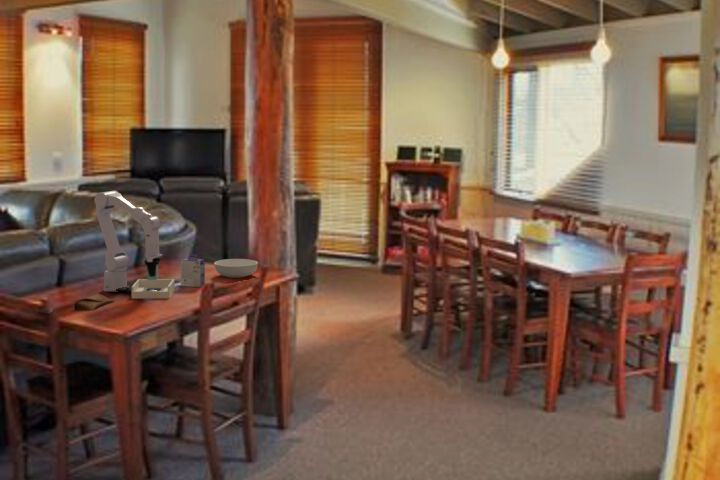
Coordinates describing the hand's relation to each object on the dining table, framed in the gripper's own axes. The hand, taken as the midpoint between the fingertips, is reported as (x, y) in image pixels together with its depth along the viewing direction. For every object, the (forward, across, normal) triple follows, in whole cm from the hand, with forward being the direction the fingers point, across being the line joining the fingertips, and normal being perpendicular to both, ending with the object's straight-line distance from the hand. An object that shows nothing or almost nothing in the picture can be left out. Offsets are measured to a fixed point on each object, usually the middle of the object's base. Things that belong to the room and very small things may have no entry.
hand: (153, 275), depth 378 cm
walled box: (+8, 0, 0) cm, 8 cm away
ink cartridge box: (+9, +17, -15) cm, 24 cm away
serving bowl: (+9, +38, -33) cm, 51 cm away
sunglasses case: (+9, -20, +21) cm, 30 cm away
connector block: (+2, 0, 0) cm, 2 cm away
